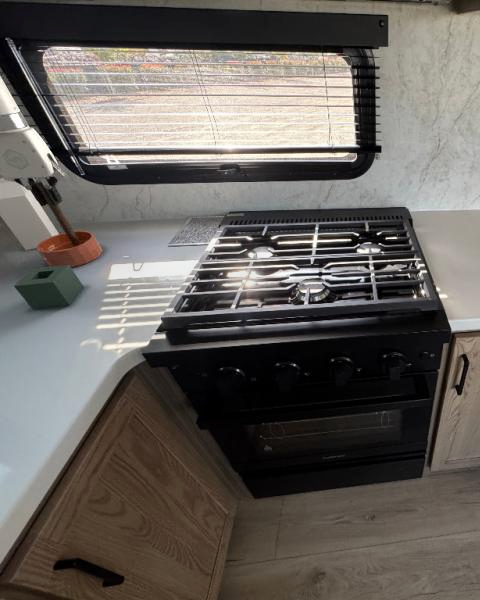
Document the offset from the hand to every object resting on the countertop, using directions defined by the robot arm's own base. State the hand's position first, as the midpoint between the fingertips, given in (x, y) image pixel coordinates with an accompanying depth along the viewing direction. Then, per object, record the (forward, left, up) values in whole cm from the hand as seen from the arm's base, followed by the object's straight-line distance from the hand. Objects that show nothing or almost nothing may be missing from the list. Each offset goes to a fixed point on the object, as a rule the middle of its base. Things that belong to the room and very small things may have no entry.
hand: (51, 203), depth 86 cm
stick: (0, 0, -12) cm, 12 cm away
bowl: (-2, 0, -16) cm, 16 cm away
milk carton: (-16, +12, -16) cm, 25 cm away
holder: (+3, -20, -16) cm, 26 cm away
